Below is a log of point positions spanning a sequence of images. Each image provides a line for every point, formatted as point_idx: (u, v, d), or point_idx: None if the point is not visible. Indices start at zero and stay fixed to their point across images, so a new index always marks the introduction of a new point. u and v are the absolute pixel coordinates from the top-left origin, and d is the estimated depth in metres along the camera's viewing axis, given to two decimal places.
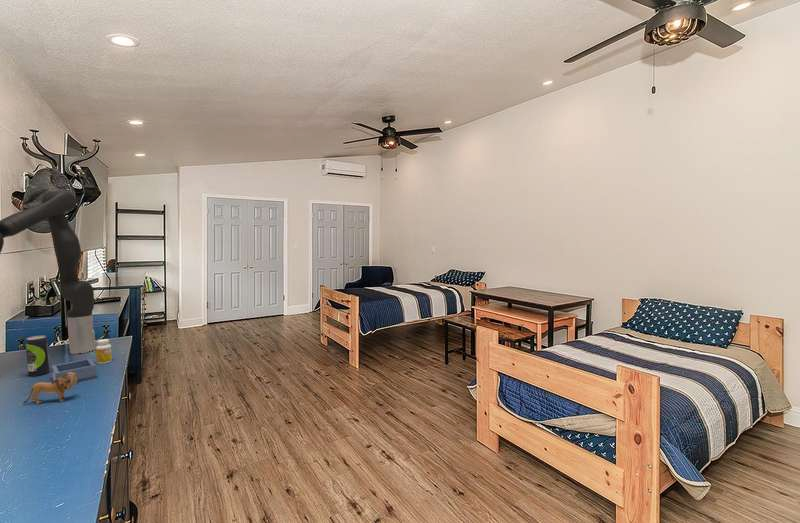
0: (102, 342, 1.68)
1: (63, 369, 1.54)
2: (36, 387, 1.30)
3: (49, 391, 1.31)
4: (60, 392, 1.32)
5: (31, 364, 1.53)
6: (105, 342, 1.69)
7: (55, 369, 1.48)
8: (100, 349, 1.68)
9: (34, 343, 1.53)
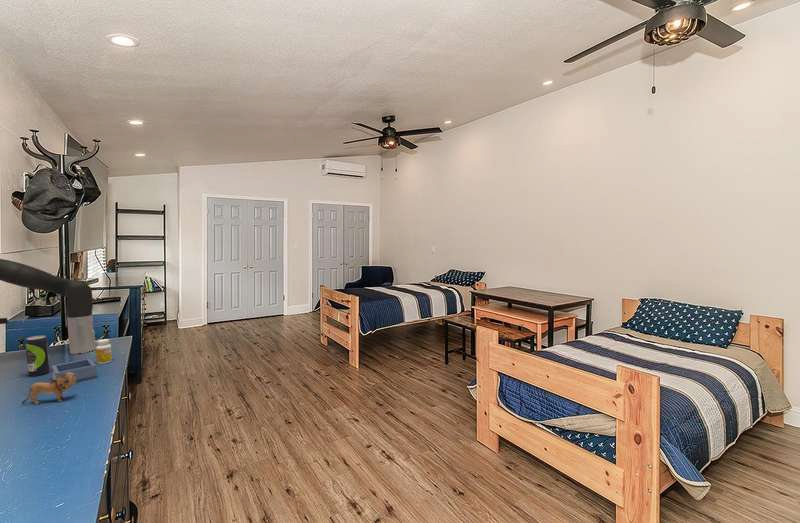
0: (102, 342, 1.68)
1: (63, 369, 1.54)
2: (34, 387, 1.30)
3: (48, 391, 1.31)
4: (59, 392, 1.32)
5: (31, 364, 1.53)
6: (105, 342, 1.69)
7: (55, 369, 1.48)
8: (100, 349, 1.68)
9: (34, 343, 1.53)
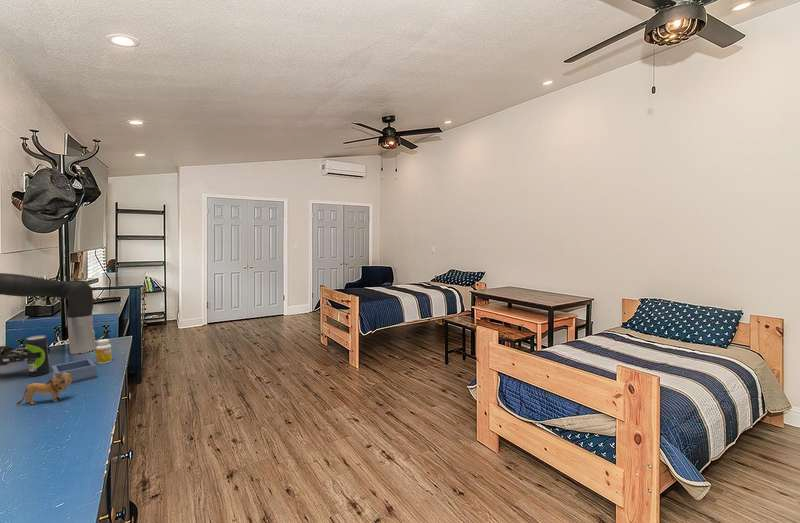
0: (102, 342, 1.68)
1: (63, 369, 1.54)
2: (30, 387, 1.29)
3: (43, 392, 1.31)
4: (54, 393, 1.31)
5: (31, 364, 1.53)
6: (105, 342, 1.69)
7: (55, 369, 1.48)
8: (100, 349, 1.68)
9: (34, 343, 1.53)
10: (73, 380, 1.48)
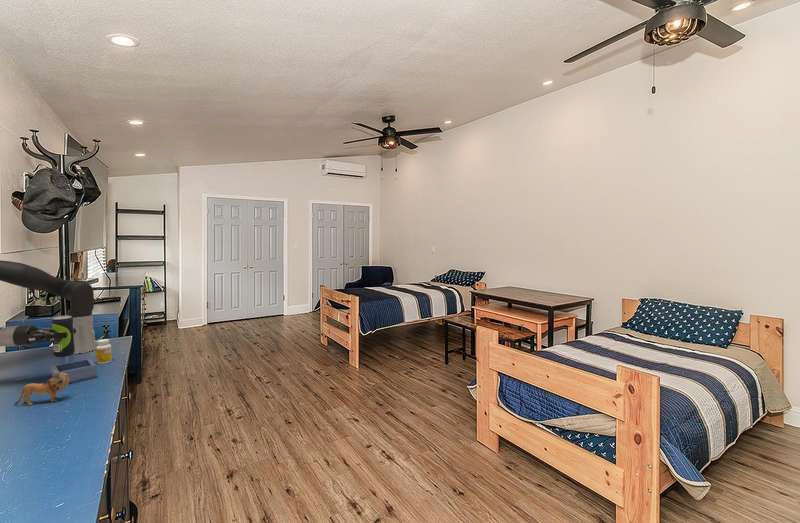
0: (102, 342, 1.68)
1: (63, 369, 1.54)
2: (27, 388, 1.29)
3: (41, 392, 1.30)
4: (52, 393, 1.31)
5: (56, 344, 1.48)
6: (105, 342, 1.69)
7: (55, 369, 1.48)
8: (100, 349, 1.68)
9: (60, 323, 1.48)
10: (73, 380, 1.48)
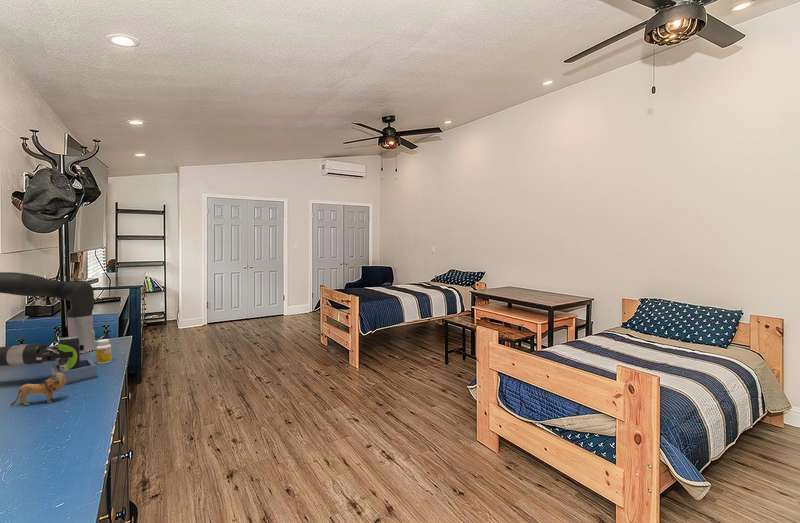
0: (102, 342, 1.68)
1: None
2: (23, 388, 1.29)
3: (37, 392, 1.30)
4: (49, 393, 1.31)
5: (63, 365, 1.47)
6: (105, 342, 1.69)
7: (55, 369, 1.48)
8: (100, 349, 1.68)
9: (67, 343, 1.48)
10: (73, 380, 1.48)
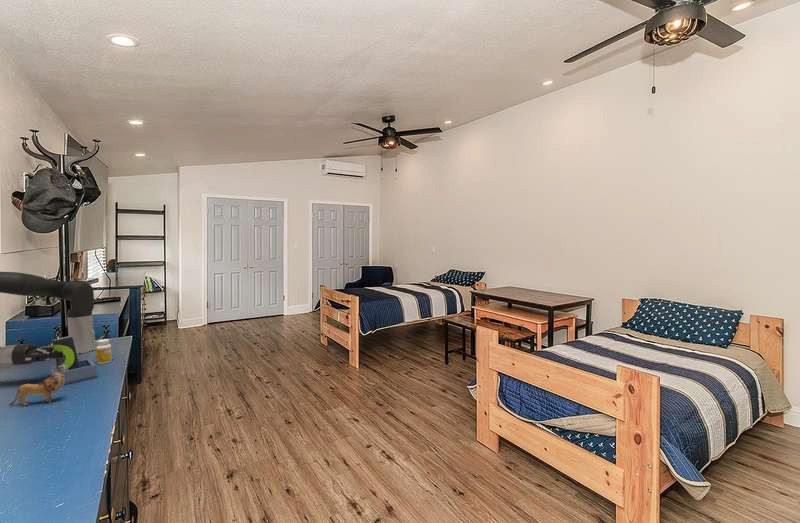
0: (102, 342, 1.68)
1: None
2: (22, 388, 1.29)
3: (36, 393, 1.30)
4: (48, 393, 1.31)
5: (61, 365, 1.47)
6: (105, 342, 1.69)
7: (55, 369, 1.48)
8: (100, 349, 1.68)
9: (61, 343, 1.48)
10: (73, 380, 1.48)
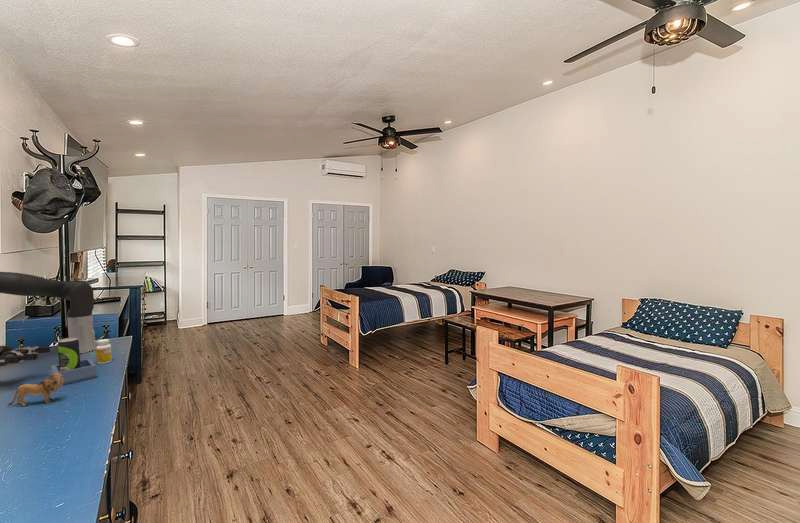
0: (102, 342, 1.68)
1: None
2: (21, 388, 1.29)
3: (35, 393, 1.30)
4: (46, 393, 1.31)
5: (63, 367, 1.47)
6: (105, 342, 1.69)
7: (55, 369, 1.48)
8: (100, 349, 1.68)
9: (67, 346, 1.47)
10: (73, 380, 1.48)
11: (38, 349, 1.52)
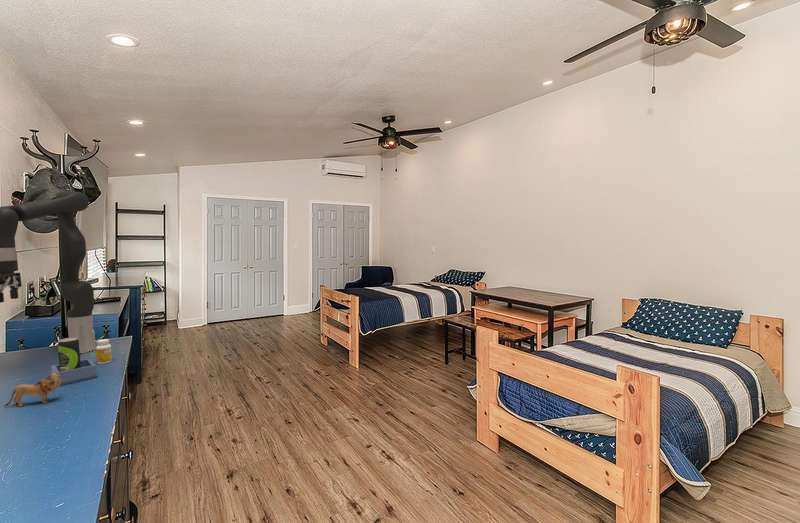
0: (102, 342, 1.68)
1: None
2: (18, 389, 1.28)
3: (32, 393, 1.29)
4: (44, 394, 1.30)
5: (64, 367, 1.47)
6: (105, 342, 1.69)
7: (55, 369, 1.48)
8: (100, 349, 1.68)
9: (67, 345, 1.47)
10: (73, 380, 1.48)
11: (14, 289, 1.57)
